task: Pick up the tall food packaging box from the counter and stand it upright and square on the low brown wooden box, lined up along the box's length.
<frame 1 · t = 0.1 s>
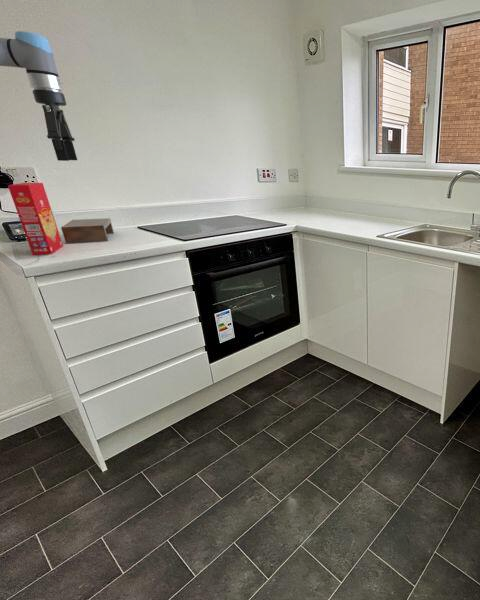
hand: (68, 160, 122), 34 cm above the countertop, tool pointing down, fingers open, 13 cm apart
food packaging: (48, 250, 138), on the countertop
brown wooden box: (91, 237, 161), on the countertop
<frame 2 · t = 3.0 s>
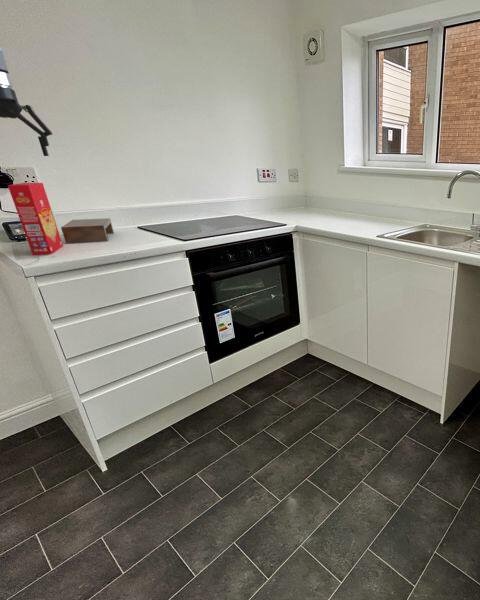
hand: (20, 155, 125), 35 cm above the countertop, tool pointing down, fingers open, 13 cm apart
nothing on the countertop moved.
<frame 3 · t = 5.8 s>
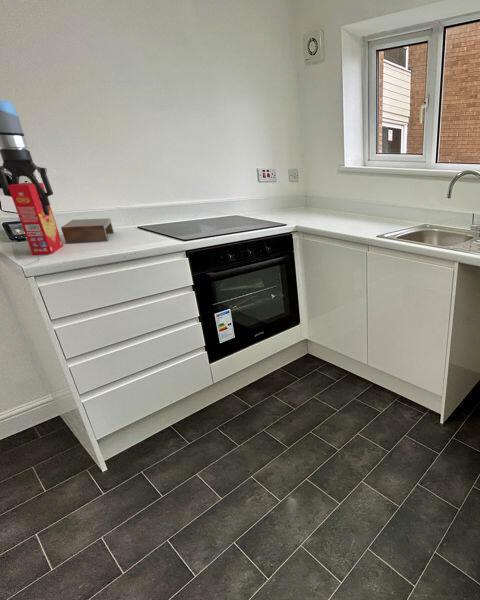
hand: (36, 214, 133), 14 cm above the countertop, tool pointing down, fingers closed on food packaging, 5 cm apart
food packaging: (48, 250, 138), on the countertop, touching gripper
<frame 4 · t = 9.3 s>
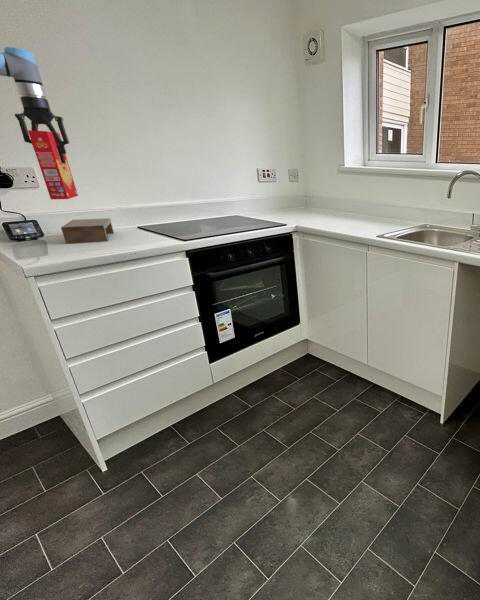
hand: (54, 162, 142), 32 cm above the countertop, tool pointing down, fingers closed on food packaging, 5 cm apart
food packaging: (65, 197, 147), point 18 cm above the countertop, touching gripper
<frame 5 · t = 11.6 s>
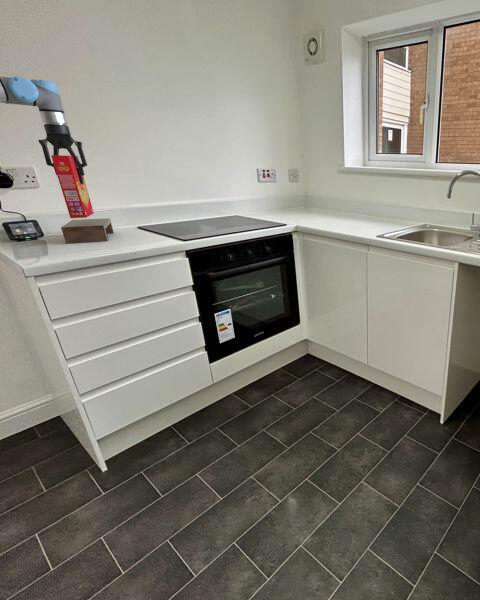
hand: (73, 183, 152), 24 cm above the countertop, tool pointing down, fingers closed on food packaging, 5 cm apart
food packaging: (82, 216, 157), point 10 cm above the countertop, touching gripper
when the fingers open (21 cm above the countertop, at t = 12.8 s): food packaging stays where it is, resting on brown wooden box.
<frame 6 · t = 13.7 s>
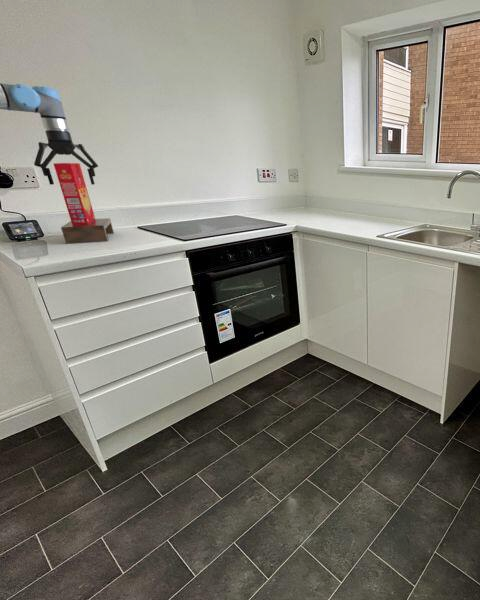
hand: (73, 184, 152), 23 cm above the countertop, tool pointing down, fingers open, 13 cm apart
food packaging: (84, 223, 158), point 7 cm above the countertop, touching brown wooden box
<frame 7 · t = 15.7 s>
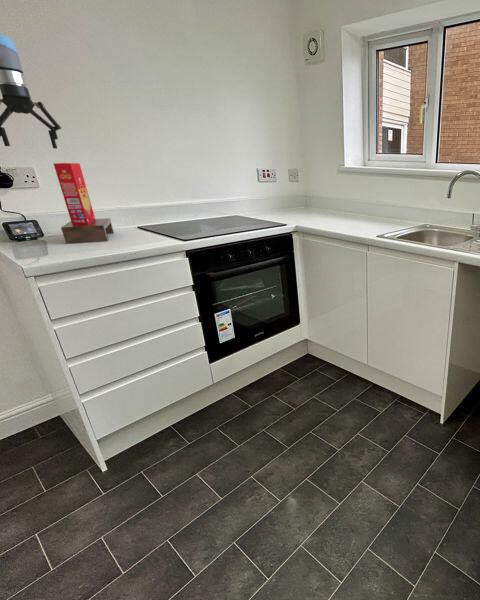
hand: (32, 147, 137), 38 cm above the countertop, tool pointing down, fingers open, 13 cm apart
nothing on the countertop moved.
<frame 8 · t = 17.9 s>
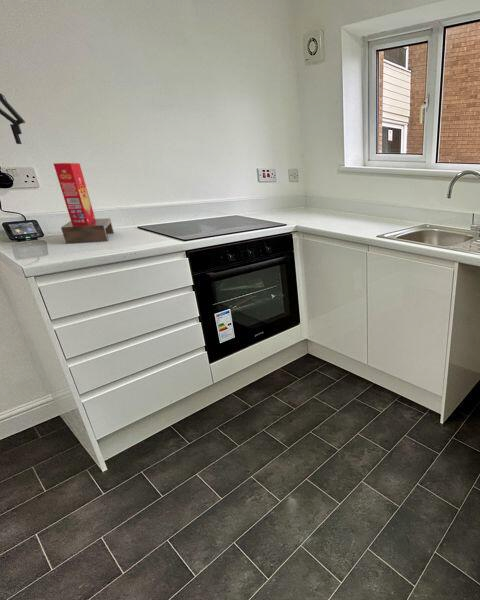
nothing on the countertop moved.
at the end: food packaging inside the target area on the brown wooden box (1.0 cm from its centre), point 6.8 cm above the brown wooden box's base; food packaging tilted 0°; the gripper is holding nothing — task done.
